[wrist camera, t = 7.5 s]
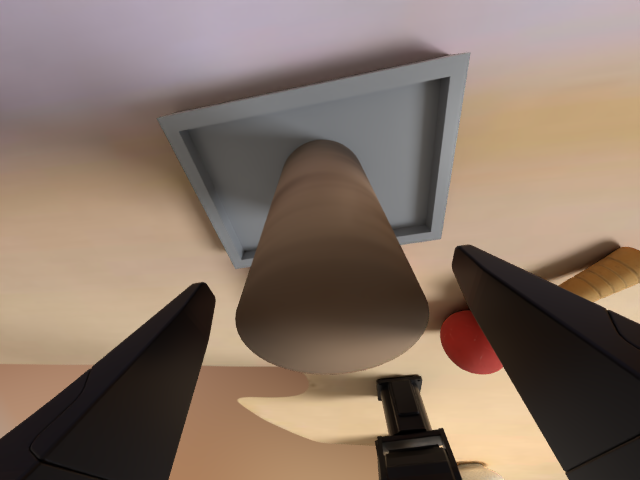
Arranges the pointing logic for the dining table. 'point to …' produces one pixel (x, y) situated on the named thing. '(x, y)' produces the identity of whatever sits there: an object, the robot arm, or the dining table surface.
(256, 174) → the grey tray
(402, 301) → the walnut peg
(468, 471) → the cereal bowl
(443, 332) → the kendama
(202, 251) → the dining table surface
